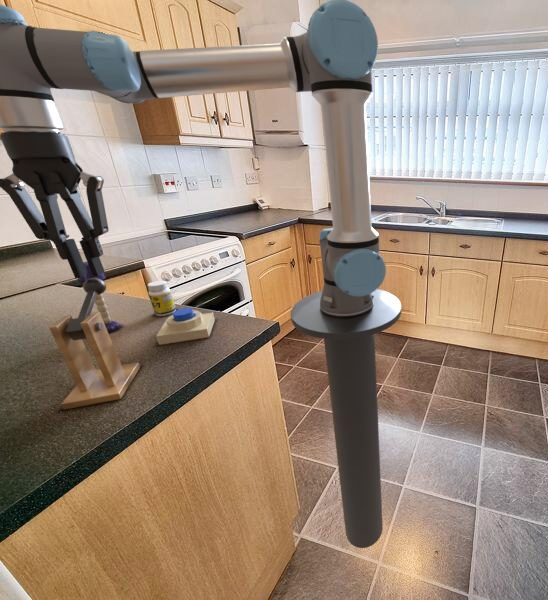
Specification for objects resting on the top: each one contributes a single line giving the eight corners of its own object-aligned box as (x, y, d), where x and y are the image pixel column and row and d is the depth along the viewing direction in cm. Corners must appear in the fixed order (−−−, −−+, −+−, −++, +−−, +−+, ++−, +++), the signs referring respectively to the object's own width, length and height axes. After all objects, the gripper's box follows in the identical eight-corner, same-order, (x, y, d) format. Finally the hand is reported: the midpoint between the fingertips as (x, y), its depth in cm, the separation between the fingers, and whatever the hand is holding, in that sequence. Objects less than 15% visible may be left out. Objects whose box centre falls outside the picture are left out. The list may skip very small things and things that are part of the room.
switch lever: (91, 287, 64) (81, 275, 62) (111, 285, 65) (102, 273, 63) (70, 342, 56) (59, 331, 54) (94, 339, 57) (83, 327, 55)
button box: (214, 320, 85) (211, 306, 83) (209, 337, 77) (204, 321, 76) (169, 326, 82) (164, 312, 80) (158, 344, 74) (153, 329, 73)
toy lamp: (115, 323, 84) (90, 258, 77) (128, 325, 83) (104, 260, 76) (94, 332, 80) (65, 265, 73) (107, 335, 78) (80, 267, 72)
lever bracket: (91, 375, 64) (61, 310, 59) (140, 367, 67) (116, 304, 61) (63, 410, 56) (25, 337, 50) (120, 399, 58) (90, 328, 52)
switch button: (196, 313, 81) (194, 307, 80) (192, 320, 77) (190, 313, 76) (177, 316, 79) (175, 309, 79) (172, 323, 76) (170, 316, 75)
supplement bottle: (151, 314, 88) (141, 284, 85) (168, 307, 92) (159, 278, 89) (163, 317, 87) (153, 287, 83) (180, 310, 91) (171, 281, 87)
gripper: (102, 133, 58) (145, 264, 67) (-13, 132, 53) (50, 273, 63) (80, 130, 51) (131, 276, 61) (-53, 129, 47) (25, 287, 56)
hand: (90, 274), depth 62 cm, fingers open, 2 cm apart
